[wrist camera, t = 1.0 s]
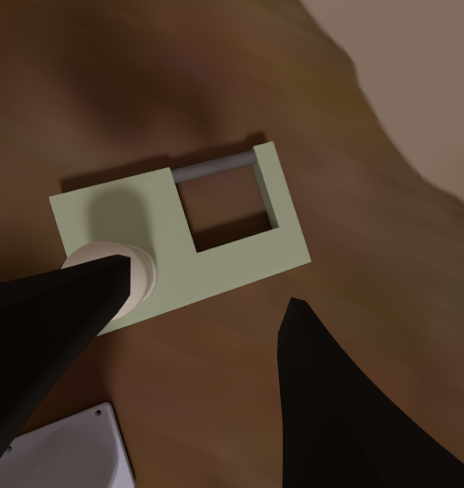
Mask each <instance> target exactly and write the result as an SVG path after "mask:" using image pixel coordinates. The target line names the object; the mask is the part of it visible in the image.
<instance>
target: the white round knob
mask: <svg viewBox="0 0 464 488" xmlns="http://www.w3.org/2000/svg"><path fill="white" fill-rule="evenodd" d="M116 254H120V255H124V256H128V257H131V293H130V296H129V298H128V299H127V301H126V302H125V304H124V305H123V306H122V308H121V309H120V310H119V312H118V313H117V314H116V315H115V317H114V318H113V319H112V320H115V319H118V318H120V317H122V316H124V315H125V314H127V313H128V312H129V311H131V310H132V309H133V308H134V307H136V306H137V305H138V304H139V303H141V302H142V301H143V300H145V299H146V298H147V297H148V296H149V295H150V294H151V293H152V292H153V290H154V289H155V287H156V285H157V282H158V267H157V264H156V262H155V260H154V258H153V257H152V256H151V255H150V254H149V253H148V252H147V251H146V250H144V249H142V248H140V247H137V246H132V245H126V244H121V243H115V242H109V241H99V242H93V243H89V244H86V245H84V246H82V247H80V248H78V249H77V250H75V251H74V252H73V253H72V254H71V255H70V256H69V257H68V258H67V260H66V261H65V262H64V264H63V266H62V268H61V269H63V268H67V267H70V266H74V265H78V264H81V263H85V262H88V261H92V260H95V259H99V258H103V257H107V256H111V255H116ZM112 320H111V321H112Z"/></svg>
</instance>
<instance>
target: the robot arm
mask: <svg viewBox="0 0 464 488" xmlns="http://www.w3.org/2000/svg"><path fill="white" fill-rule="evenodd" d="M130 293H131V257H128V256H124V255H120V254H116V255H111V256H107V257H103V258H99V259H95V260H92V261H88V262H85V263H81V264H78V265H74V266H70V267H67V268H63V269H59V270H55V271H51V272H47V273H43V274H39V275H35V276H31V277H26V278H22V279H17V280H12V281H6V282H1V283H0V488H135V486H136V484H135V480H134V477H133V474H132V470H131V467H130V464H129V461H128V457H127V454H126V451H125V448H124V444H123V441H122V438H121V435H120V431H119V428H118V425H117V422H116V418H115V415H114V412H113V409H112V406H111V404H110V403H107V402H105V403H102V404H100V405H97V406H95V407H92V408H90V409H87V410H84V411H82V412H79V413H77V414H74V415H72V416H69V417H67V418H64V419H62V420H59V421H57V422H54V423H52V424H49V425H46V426H44V427H41V428H39V429H36V430H34V431H31V432H29V433H26V434H24V435H21V436H19V437H16V436H17V434H18V433H19V431H20V430H21V428H22V427H23V426H24V424H25V423H26V421H27V420H28V419H29V417H30V416H31V415H32V413H33V412H34V411H35V409H36V408H37V407H38V405H39V404H40V403H41V401H42V400H43V399H44V397H45V396H46V395H47V393H48V392H49V391H50V389H51V388H52V387H53V385H54V384H55V383H56V382H57V380H58V379H59V378H60V377H61V375H62V374H63V373H64V371H65V370H66V369H67V368H68V366H69V365H70V364H71V363H72V362H73V361H74V360H75V358H76V357H77V356H78V355H79V354H80V353H81V352H82V351H83V350H84V349H85V348H86V347H87V346H88V344H89V343H90V342H91V341H92V340H93V339H94V338H95V337H96V336H97V335H98V334H99V333H100V332H101V331H102V330H103V329H104V327H105V326H106V325H107V324H108V323H109V322H110V321H111V320H112V319H113V318H114V317H115V315H116V314H117V313H118V312H119V310H120V309H121V308H122V306H123V305H124V304H125V302H126V301H127V299H128V298H129V296H130ZM277 360H278V372H279V384H280V396H281V407H282V422H283V483H282V488H464V464H463V463H462V462H461V461H459V460H458V459H457V458H456V457H455V456H453V455H452V454H451V453H450V452H449V451H447V450H446V449H445V448H444V447H443V446H441V445H440V444H439V443H438V442H437V441H435V440H434V439H433V438H432V437H431V436H430V435H428V434H427V433H426V432H425V431H424V430H423V429H422V428H420V427H419V426H418V425H417V424H416V423H415V422H414V421H413V420H412V419H410V418H409V417H408V416H407V415H406V414H405V413H404V412H403V411H402V410H401V409H400V408H398V407H397V406H396V405H395V404H394V403H393V402H392V401H391V400H390V399H389V398H388V397H387V396H386V395H385V394H384V393H383V392H382V391H381V390H380V389H379V388H378V387H377V386H376V385H375V384H374V383H373V382H372V381H371V380H370V379H369V378H368V377H367V376H366V375H365V374H364V373H363V372H362V371H361V370H360V368H359V367H358V366H357V365H356V364H355V363H354V362H353V361H352V359H351V358H350V357H349V356H348V355H347V354H346V352H345V351H344V350H343V349H342V348H341V346H340V345H339V344H338V343H337V342H336V340H335V339H334V338H333V337H332V335H331V334H330V333H329V331H328V330H327V329H326V327H325V326H324V325H323V323H322V322H321V321H320V319H319V318H318V317H317V315H316V314H315V313H314V311H313V310H312V309H311V307H310V306H309V305H308V303H307V302H306V301H304V300H300V299H296V298H292V297H291V299H290V302H289V305H288V307H287V310H286V313H285V316H284V318H283V321H282V324H281V327H280V330H279V332H278V347H277ZM97 410H100V411H101V413H98V412H97ZM15 437H16V438H15ZM9 446H11V447H12V449H11V448H9Z"/></svg>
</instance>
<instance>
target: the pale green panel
mask: <svg viewBox="0 0 464 488" xmlns="http://www.w3.org/2000/svg"><path fill="white" fill-rule="evenodd" d="M248 164H252V168H253V171H254V174H255V177H256V180H257V183H258V186H259V189H260V193H261V196H262V199H263V202H264V205H265V208H266V211H267V215H268V218H269V221H270V224H271V227H272V230H269V231H266V232H263V233H260V234H257V235H253V236H250V237H247V238H244V239H241V240H238V241H234V242H231V243H228V244H225V245H222V246H218V247H215V248H212V249H209V250H206V251H203V252H199V253H197V252H196V249H195V246H194V243H193V240H192V237H191V233H190V230H189V227H188V224H187V221H186V217H185V214H184V211H183V208H182V205H181V202H180V198H179V195H178V192H177V189H176V186H175V183H179V182H183V181H187V180H190V179H194V178H198V177H202V176H206V175H210V174H213V173H217V172H221V171H225V170H229V169H233V168H237V167H240V166H244V165H248ZM49 199H50V203H51V206H52V209H53V212H54V216H55V219H56V222H57V225H58V229H59V232H60V235H61V238H62V242H63V245H64V248H65V251H66V255H67V258H68V257H69V256H70V255H71V254H72V253H73V252H74V251H75V250H77V249H78V248H80V247H82V246H84V245H86V244H89V243H93V242H99V241H109V242H115V243H121V244H126V245H132V246H137V247H140V248H142V249H144V250H146V251H147V252H148V253H149V254H150V255H151V256H152V257H153V258H154V260H155V262H156V264H157V267H158V282H157V285H156V287H155V289H154V290H153V292H152V293H151V294H150V295H149V296H148V297H147V298H146V299H145V300H143V301H142V302H141V303H139V304H138V305H137V306H136V307H134V308H133V309H132V310H131V311H129V312H128V313H127V314H125V315H124V316H122V317H120V318H118V319H115V320H112V321H110V322H109V323H108V324H107V325H106V326H105V327H104V329H103V330H102V331H101V332H100V333H99V334H98V335H97V336H99V335H102V334H105V333H108V332H111V331H113V330H116V329H119V328H122V327H125V326H128V325H131V324H133V323H136V322H139V321H142V320H145V319H148V318H151V317H154V316H156V315H159V314H162V313H165V312H168V311H171V310H174V309H177V308H179V307H182V306H185V305H188V304H191V303H194V302H197V301H200V300H202V299H205V298H208V297H211V296H214V295H217V294H220V293H222V292H225V291H228V290H231V289H234V288H237V287H240V286H243V285H245V284H248V283H251V282H254V281H257V280H260V279H263V278H266V277H268V276H271V275H274V274H277V273H280V272H283V271H286V270H289V269H291V268H294V267H297V266H300V265H303V264H306V263H309V262H311V259H310V256H309V253H308V250H307V246H306V243H305V240H304V237H303V234H302V231H301V228H300V225H299V222H298V218H297V215H296V212H295V209H294V206H293V203H292V200H291V197H290V193H289V190H288V187H287V184H286V181H285V178H284V175H283V172H282V168H281V165H280V162H279V159H278V156H277V153H276V150H275V147H274V144H273V142H269V143H265V144H261V145H257V146H253V148H252V150H250V151H246V152H241V153H237V154H233V155H229V156H225V157H221V158H217V159H213V160H209V161H205V162H201V163H197V164H193V165H189V166H185V167H181V168H177V169H173V170H170V167H168V168H164V169H160V170H156V171H152V172H148V173H144V174H140V175H135V176H131V177H127V178H123V179H119V180H115V181H111V182H107V183H103V184H99V185H95V186H91V187H87V188H83V189H79V190H75V191H71V192H67V193H63V194H59V195H55V196H51V197H49Z"/></svg>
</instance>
